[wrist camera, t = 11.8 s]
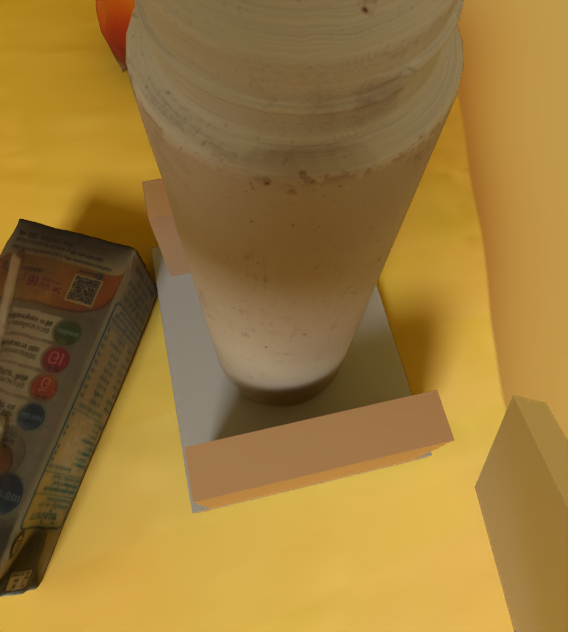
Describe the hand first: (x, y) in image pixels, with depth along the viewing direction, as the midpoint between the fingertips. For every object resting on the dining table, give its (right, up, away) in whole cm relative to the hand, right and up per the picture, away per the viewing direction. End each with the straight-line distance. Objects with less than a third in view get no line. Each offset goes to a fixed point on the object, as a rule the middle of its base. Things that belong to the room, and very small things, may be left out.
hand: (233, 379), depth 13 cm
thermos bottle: (+1, 0, +20) cm, 20 cm away
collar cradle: (+1, -1, +21) cm, 21 cm away
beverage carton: (-13, -4, +20) cm, 24 cm away
